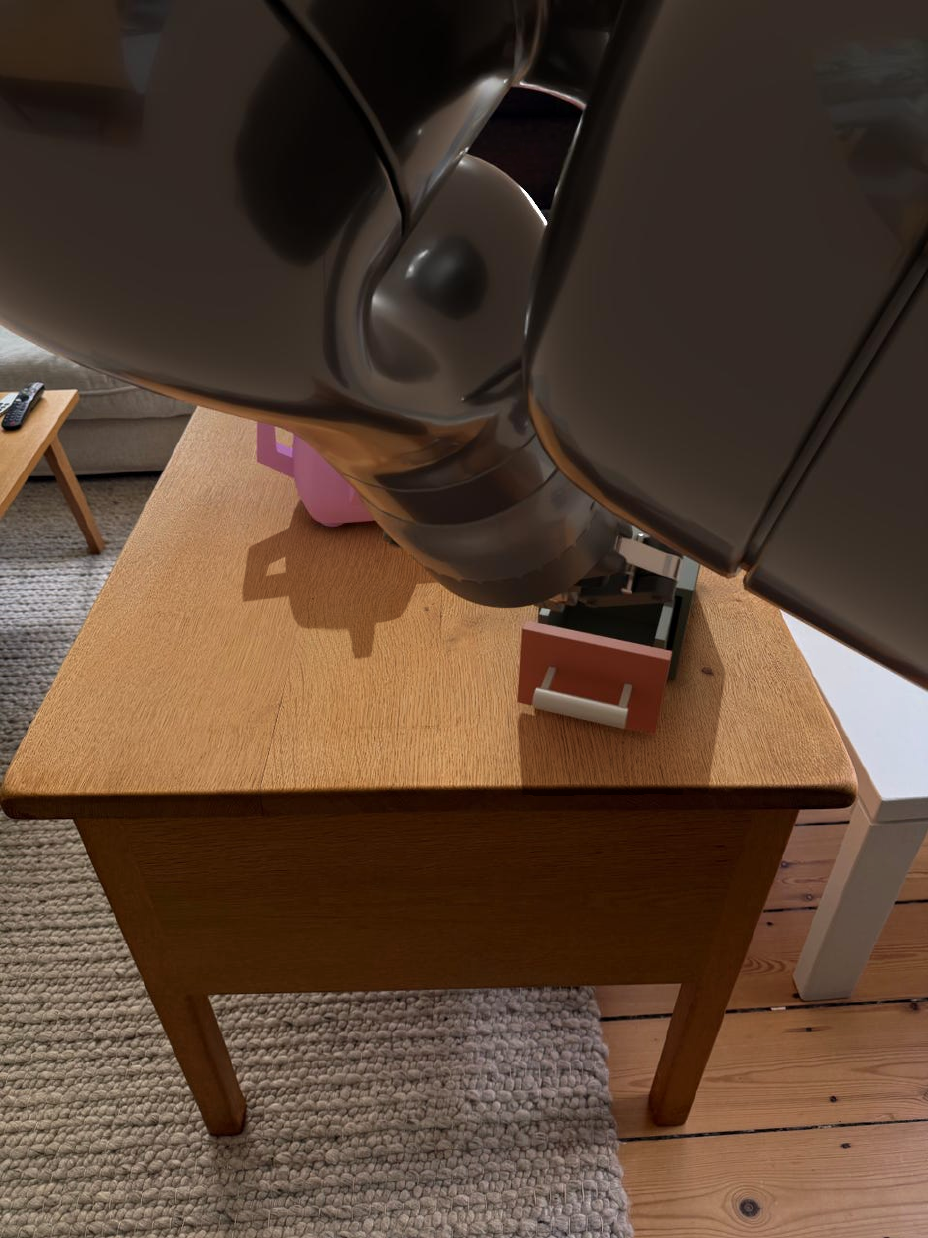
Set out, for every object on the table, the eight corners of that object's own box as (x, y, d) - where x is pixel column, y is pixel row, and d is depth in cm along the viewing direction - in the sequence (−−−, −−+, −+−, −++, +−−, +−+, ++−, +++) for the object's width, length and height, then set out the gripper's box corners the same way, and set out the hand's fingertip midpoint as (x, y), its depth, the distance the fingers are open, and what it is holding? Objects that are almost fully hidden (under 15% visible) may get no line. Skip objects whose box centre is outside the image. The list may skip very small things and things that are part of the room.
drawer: (646, 774, 65) (661, 698, 60) (501, 738, 68) (505, 663, 63) (678, 634, 78) (692, 563, 73) (556, 609, 81) (563, 539, 76)
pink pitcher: (378, 564, 88) (369, 428, 79) (246, 515, 96) (225, 386, 87) (474, 487, 101) (477, 363, 92) (352, 449, 109) (343, 331, 100)
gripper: (266, 535, 28) (414, 632, 45) (671, 624, 25) (668, 693, 41) (330, 327, 29) (451, 497, 46) (728, 383, 26) (703, 545, 42)
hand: (554, 590), depth 43 cm, fingers closed
